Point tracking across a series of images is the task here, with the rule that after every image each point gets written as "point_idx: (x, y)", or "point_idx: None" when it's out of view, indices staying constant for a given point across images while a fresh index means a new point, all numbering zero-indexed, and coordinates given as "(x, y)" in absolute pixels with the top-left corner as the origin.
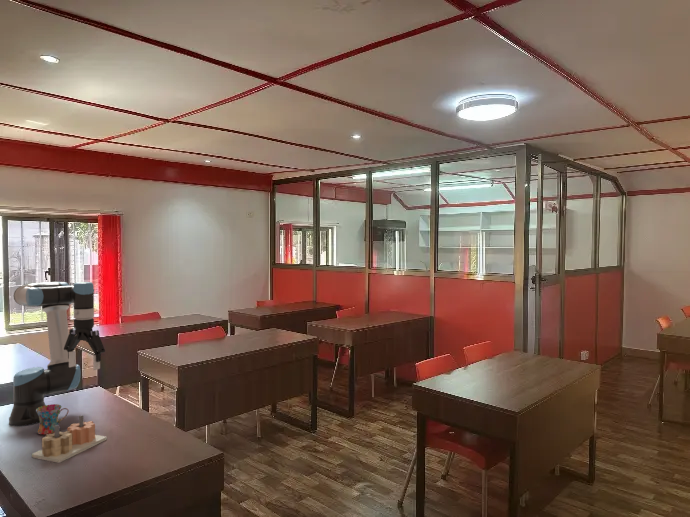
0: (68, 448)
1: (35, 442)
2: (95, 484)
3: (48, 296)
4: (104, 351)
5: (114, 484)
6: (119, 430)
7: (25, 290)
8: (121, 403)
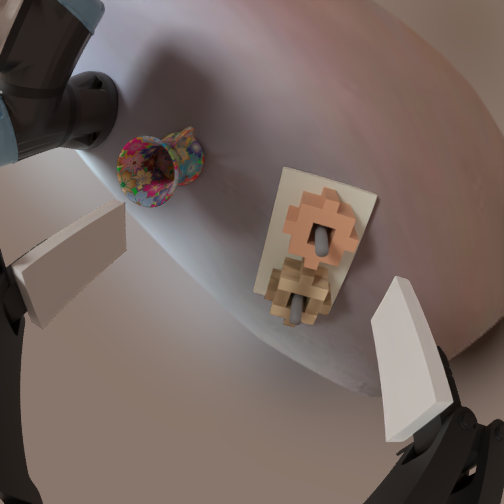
0: (329, 289)
1: (200, 220)
2: None
3: None
4: (501, 431)
5: None
6: (377, 128)
7: None
8: None
